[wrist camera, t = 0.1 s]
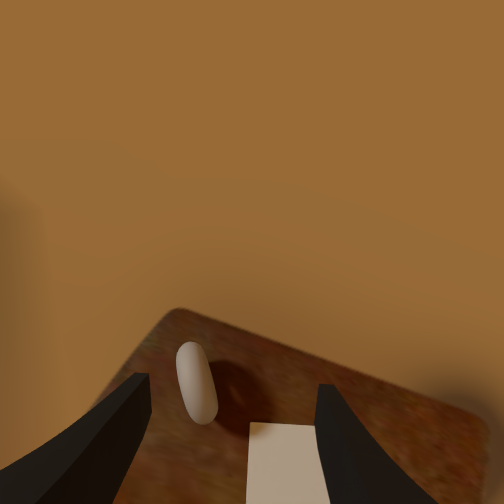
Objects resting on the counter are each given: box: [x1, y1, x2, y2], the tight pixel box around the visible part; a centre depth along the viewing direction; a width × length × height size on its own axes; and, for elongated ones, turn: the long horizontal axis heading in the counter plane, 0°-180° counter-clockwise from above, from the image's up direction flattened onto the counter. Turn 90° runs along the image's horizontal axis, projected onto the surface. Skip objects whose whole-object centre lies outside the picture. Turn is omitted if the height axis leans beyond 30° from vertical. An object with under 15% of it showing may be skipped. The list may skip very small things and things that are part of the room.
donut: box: [176, 342, 218, 425], centre depth 38 cm, size 10×4×10 cm, turn 19°
